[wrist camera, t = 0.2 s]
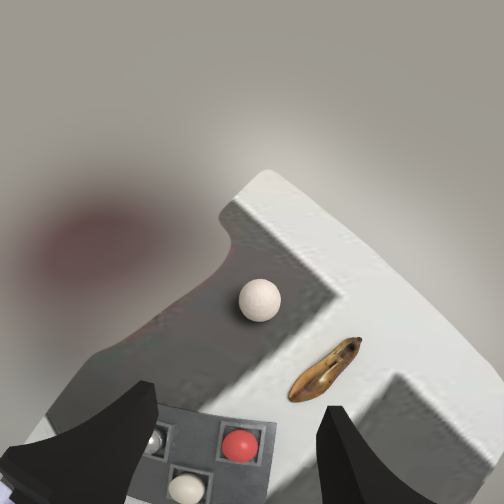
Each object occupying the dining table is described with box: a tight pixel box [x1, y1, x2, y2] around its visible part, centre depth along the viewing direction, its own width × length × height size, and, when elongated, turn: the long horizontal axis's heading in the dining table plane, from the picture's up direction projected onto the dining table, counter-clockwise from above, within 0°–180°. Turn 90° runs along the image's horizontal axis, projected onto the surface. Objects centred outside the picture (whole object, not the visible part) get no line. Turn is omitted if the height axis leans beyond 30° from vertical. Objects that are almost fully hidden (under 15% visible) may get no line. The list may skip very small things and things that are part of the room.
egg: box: [239, 279, 281, 322], centre depth 41 cm, size 6×6×8 cm
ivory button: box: [169, 473, 205, 504], centre depth 27 cm, size 4×4×2 cm
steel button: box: [143, 427, 164, 455], centre depth 30 cm, size 4×4×2 cm
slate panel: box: [127, 403, 277, 504], centre depth 31 cm, size 17×21×3 cm
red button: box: [222, 430, 258, 463], centre depth 30 cm, size 4×4×2 cm
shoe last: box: [289, 337, 362, 402], centre depth 38 cm, size 4×14×5 cm, turn 125°
